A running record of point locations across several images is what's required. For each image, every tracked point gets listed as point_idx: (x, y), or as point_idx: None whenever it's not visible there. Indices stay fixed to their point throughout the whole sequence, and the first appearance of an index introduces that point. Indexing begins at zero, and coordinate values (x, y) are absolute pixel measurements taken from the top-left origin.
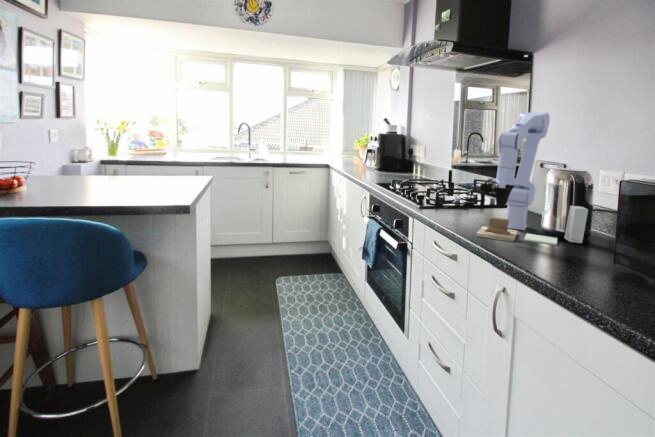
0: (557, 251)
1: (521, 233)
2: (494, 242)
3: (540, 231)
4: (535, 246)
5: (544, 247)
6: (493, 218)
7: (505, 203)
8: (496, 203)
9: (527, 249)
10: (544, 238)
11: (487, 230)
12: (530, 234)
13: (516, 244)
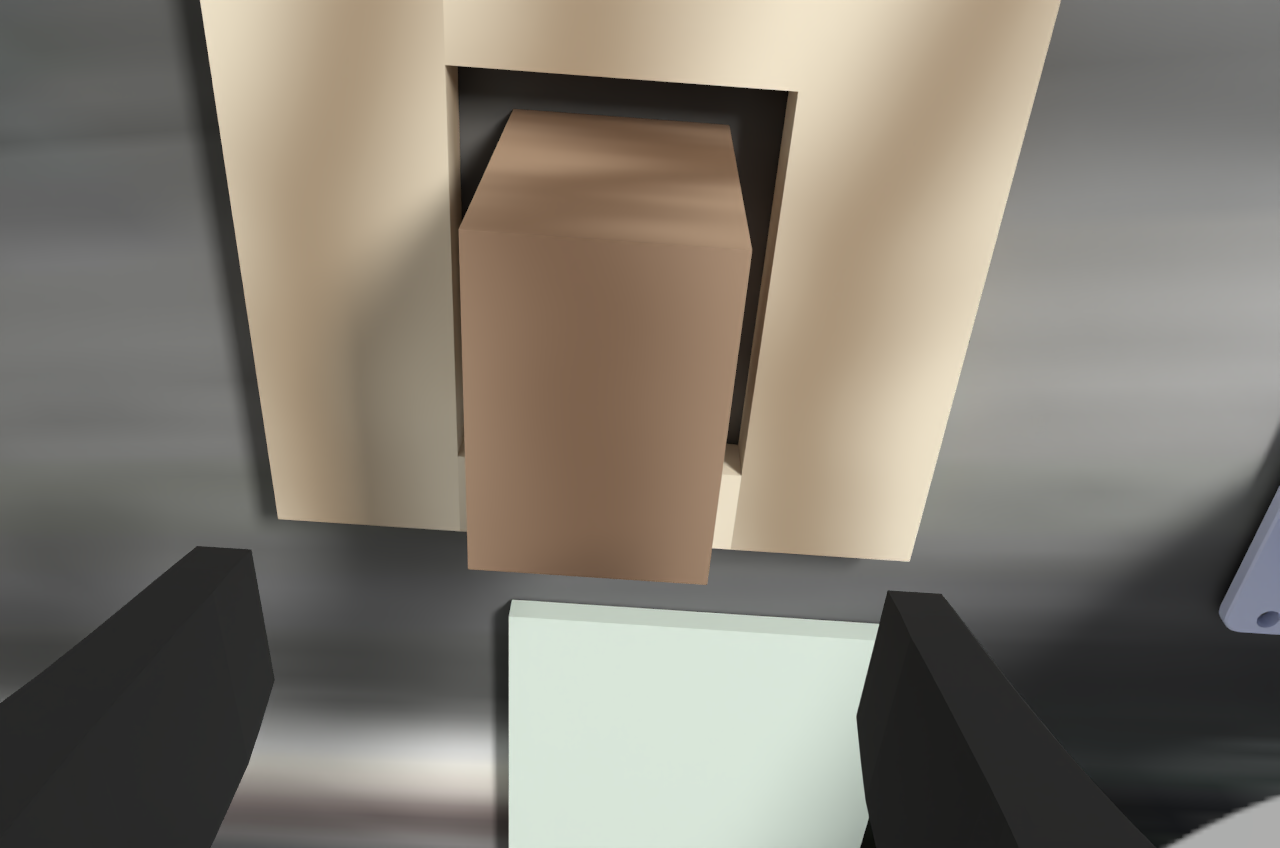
0: (226, 840)
1: (989, 575)
2: (9, 256)
3: (1270, 765)
4: (271, 693)
5: (305, 761)
6: (527, 310)
7: (866, 757)
8: (112, 618)
9: (21, 622)
10: (709, 793)
11: (791, 93)
12: (862, 680)
13: (177, 521)
